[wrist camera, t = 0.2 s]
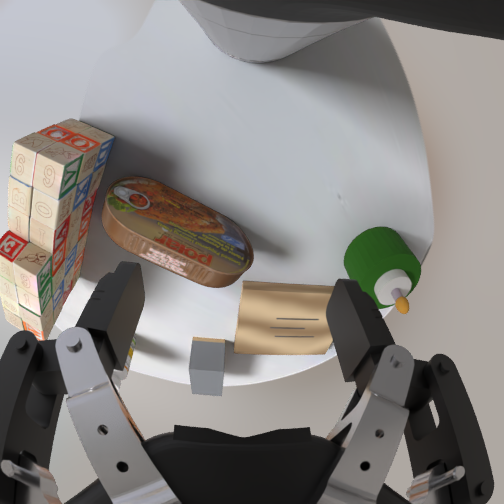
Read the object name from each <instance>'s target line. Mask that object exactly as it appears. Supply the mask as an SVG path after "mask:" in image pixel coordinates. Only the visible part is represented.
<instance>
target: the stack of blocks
mask: <svg viewBox="0 0 504 504" xmlns="http://www.w3.org/2000/svg"><path fill="white" fill-rule="evenodd" d="M114 139H115V137H114V136H112V135H110V134H108V133H105V132H103V131H101V130H98V129H96V128H94V127H91V126H90V125H87V124H85V123H83V122H80V121H77V120H75V119H68V120H65V121H63V122H60V123H58V124H56V125H55V124H54V125H52V126H49V127H47V128H45V129H43V130H41V131H38V132H37V133H32V134H30V135H27V136H25V137H23V138H21V139H19V140H17V141H15V142H14V143H13V149H12V157H11V166H10V176H9V188H8V226H9V229H10V230H9V231H7V232H6V233H5V234H4V235H3V236H2V238H1V239H0V296H1V300H2V304H3V309H4V313H5V317H6V320H7V321H8V322H10V323H11V324H13V325H14V326H16V327H17V328H19V329H20V330H22V331H23V330H28V331H31V332H32V333H33V334H34V335H35V336H36V338H37V339H38V340H39V341H40V340H47V339H48V337H49V334H50V332H51V330H52V328H53V325H54V324H55V322H56V320H57V318H58V316H59V314H60V312H61V310H62V306H63V305H64V303H65V301H66V299H67V297H68V295H69V294H70V292H71V291H72V290H73V288H74V286H75V284H76V282H77V280H78V278H79V276H80V269H81V264H82V261H83V255H84V250H85V244H86V240H87V235H88V226H89V222H90V218H91V213H92V207H93V203H94V200H95V196H96V192H97V188H98V187H99V185H100V181H101V178H102V175H103V172H104V169H105V165H106V161H107V159H108V156H109V153H110V150H111V147H112V144H113V141H114Z"/></svg>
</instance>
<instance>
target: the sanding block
mask: <svg viewBox="0 0 504 504" xmlns="http://www.w3.org/2000/svg"><path fill="white" fill-rule="evenodd" d="M224 356H225V339H212V338H200V337H193V340H192V348H191V356H190V364H189V374H190V381H191V389H192V394H200V395H212V396H222V387H223V377H224Z"/></svg>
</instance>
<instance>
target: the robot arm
mask: <svg viewBox="0 0 504 504" xmlns="http://www.w3.org/2000/svg"><path fill="white" fill-rule="evenodd" d="M179 1H180V2H181V3H182V5H183V6H184V7H185V8H186V9H187V11H188V12H189V13H190V14H191V16H192V17H193V18H194V19H195V20H196V22H197V23H198V24H199V25H200V27H201V28H202V29H203V31H204V32H205V33H206V35H207V36H208V37H209V38H210V40H211V41H212V42H213V44H214V45H215V46H216V47H218V48H219V49H220V50H221V51H222V52H224V53H225V54H227V55H229V56H230V57H233V58H236V59H238V60H241V61H247V62H253V63H264V62H272V61H276V60H279V59H282V58H285V57H287V56H288V55H290V54H292V53H294V52H297V51H299V50H300V49H302V48H304V47H306V46H308V45H310V44H312V43H314V42H317V41H319V40H321V39H323V38H325V37H327V36H329V35H332V34H334V33H336V32H339V31H341V30H343V29H345V28H347V27H350V26H352V25H355V24H357V23H360V22H363V21H365V20H368V19H371V18H374V17H379V18H384V19H389V20H394V21H398V22H403V23H407V24H412V25H417V26H422V27H427V28H432V29H437V30H443V31H448V32H456V33H462V34H469V35H476V36H482V37H489V38H495V39H500V40H504V0H179ZM144 301H145V292H144V286H143V279H142V273H141V266H140V264H139V263H133V262H123V261H122V262H120V264H119V265H118V267H117V269H116V271H115V273H108V274H107V275H105V276H104V277H103V278H102V279H101V280H100V281H99V282H98V284H97V286H96V288H95V291H93V293H92V295H91V298H90V299H89V300H88V302H87V304H86V306H85V308H84V310H83V312H82V314H81V316H80V318H79V320H78V322H77V324H76V326H75V327H72V328H69V329H66V330H65V331H63V332H62V333H61V334H60V335H59V337H58V338H57V339H55V340H40V341H38V340H37V338H36V336H35V335H34V334H33V333H32V332H31V331H28V330H23V331H19V332H17V333H16V334H14V335H13V336H12V337H11V339H10V340H9V342H8V344H7V346H6V348H5V351H4V353H3V355H2V357H1V359H0V504H62V503H61V501H60V500H59V497H58V495H57V491H58V487H57V485H56V482H55V479H54V477H53V475H52V474H51V473H50V472H49V463H50V457H51V451H52V445H53V440H54V435H55V430H56V425H57V421H58V417H59V412H60V409H61V405H62V400H63V397H64V394H68V395H69V398H67V399H66V403H67V407H68V410H69V413H70V415H71V418H72V421H73V423H74V426H75V428H76V431H77V434H78V436H79V438H80V441H81V443H82V445H83V447H84V450H85V452H86V454H87V456H88V458H89V460H90V462H91V464H92V466H93V468H94V470H95V472H96V474H97V476H98V479H97V480H95V481H94V482H93V483H91V484H90V485H89V486H87V487H86V488H85V489H84V490H82V491H81V492H80V493H78V494H77V495H76V496H74V497H73V498H71V499H70V500H69V501H67V502H66V503H64V504H486V503H487V502H488V501H489V499H490V498H491V496H492V493H493V490H494V480H493V475H492V471H491V466H490V462H489V458H488V454H487V450H486V447H485V443H484V440H483V437H482V433H481V430H480V427H479V424H478V421H477V418H476V415H475V413H474V410H473V407H472V404H471V402H470V399H469V397H468V394H467V392H466V389H465V387H464V384H463V382H462V380H461V377H460V375H459V373H458V370H457V368H456V366H455V364H454V362H453V361H452V360H451V359H450V358H449V357H448V356H446V355H443V354H436V355H434V356H433V357H432V358H431V360H430V361H429V362H427V361H422V360H416V359H413V356H412V355H411V353H410V352H409V351H408V350H407V349H405V348H404V347H402V346H399V345H396V344H395V342H394V340H393V338H392V336H391V333H390V331H389V329H388V327H387V325H386V323H385V321H384V319H383V318H382V315H381V313H380V311H378V310H379V309H378V307H377V305H376V303H375V301H374V299H373V298H372V297H371V296H370V295H369V294H368V293H366V292H363V291H362V289H361V287H360V285H359V283H358V282H357V280H355V279H338V280H337V282H336V284H335V286H334V289H333V292H332V294H331V297H330V299H329V302H328V304H327V308H326V319H327V323H328V326H329V329H330V332H331V336H332V339H333V342H334V346H335V349H336V352H337V356H338V359H339V362H340V366H341V369H342V373H343V376H344V379H345V382H352V381H355V382H356V387H355V388H354V390H353V392H352V394H351V396H350V398H349V400H348V402H347V404H346V407H345V408H344V410H343V412H342V414H341V416H340V418H339V420H338V422H337V423H336V425H335V427H334V428H333V429H332V430H331V432H330V433H329V434H328V436H327V437H326V439H325V438H323V437H319V436H315V435H311V433H310V427H307V428H295V429H278V430H274V431H270V432H267V433H263V434H258V435H255V436H250V437H238V436H234V435H230V434H226V433H223V432H219V431H216V430H212V429H209V428H198V427H189V426H180V425H174V432H168V433H164V434H160V435H157V436H154V437H152V438H149V439H147V440H145V439H144V437H143V435H142V434H141V432H140V430H139V429H138V427H137V426H136V424H135V422H134V421H133V419H132V417H131V416H130V414H129V412H128V410H127V408H126V406H125V404H124V402H123V400H122V398H121V396H120V394H119V393H118V390H117V388H116V386H115V384H114V382H113V380H112V375H113V371H114V369H115V370H119V371H123V370H124V367H125V363H126V360H127V356H128V353H129V350H130V346H131V343H132V340H133V337H134V334H135V331H136V327H137V324H138V321H139V318H140V315H141V312H142V310H143V307H144ZM432 400H433V401H434V403H435V407H436V410H437V412H438V416H439V425H438V427H437V428H436V425H435V422H434V419H433V415H432V412H431V409H430V406H429V402H431V401H432ZM403 432H404V435H405V439H406V443H407V448H408V452H409V457H410V462H411V467H412V471H413V477H414V480H413V481H412V484H411V487H409V488H408V489H407V492H406V495H407V497H408V498H409V501H408V500H406V499H405V498H403V497H402V496H401V495H399V494H398V493H397V492H395V491H393V490H392V489H391V488H390V487H389V486H387V485H386V484H385V483H384V481H385V478H386V476H387V474H388V472H389V469H390V466H391V464H392V462H393V459H394V457H395V454H396V452H397V449H398V446H399V443H400V440H401V438H402V435H403Z"/></svg>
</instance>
